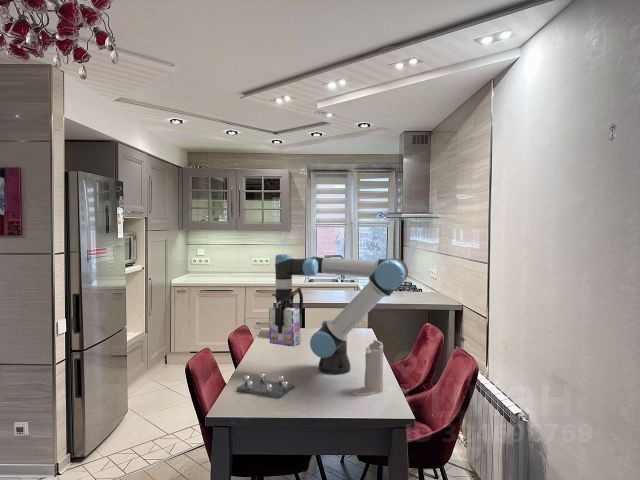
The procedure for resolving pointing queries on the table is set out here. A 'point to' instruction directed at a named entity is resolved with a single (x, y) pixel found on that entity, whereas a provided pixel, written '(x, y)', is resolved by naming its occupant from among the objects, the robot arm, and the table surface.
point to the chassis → (265, 387)
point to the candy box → (286, 327)
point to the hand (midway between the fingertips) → (284, 338)
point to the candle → (373, 370)
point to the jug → (293, 297)
